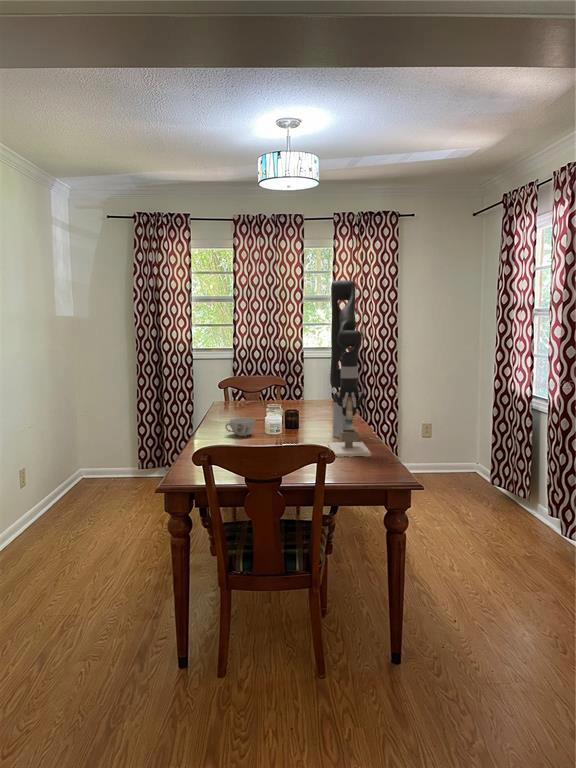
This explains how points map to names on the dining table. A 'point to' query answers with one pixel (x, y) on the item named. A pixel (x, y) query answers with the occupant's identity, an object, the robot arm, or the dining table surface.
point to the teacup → (241, 426)
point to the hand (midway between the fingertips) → (348, 415)
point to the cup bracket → (349, 444)
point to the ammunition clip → (287, 441)
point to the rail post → (349, 411)
